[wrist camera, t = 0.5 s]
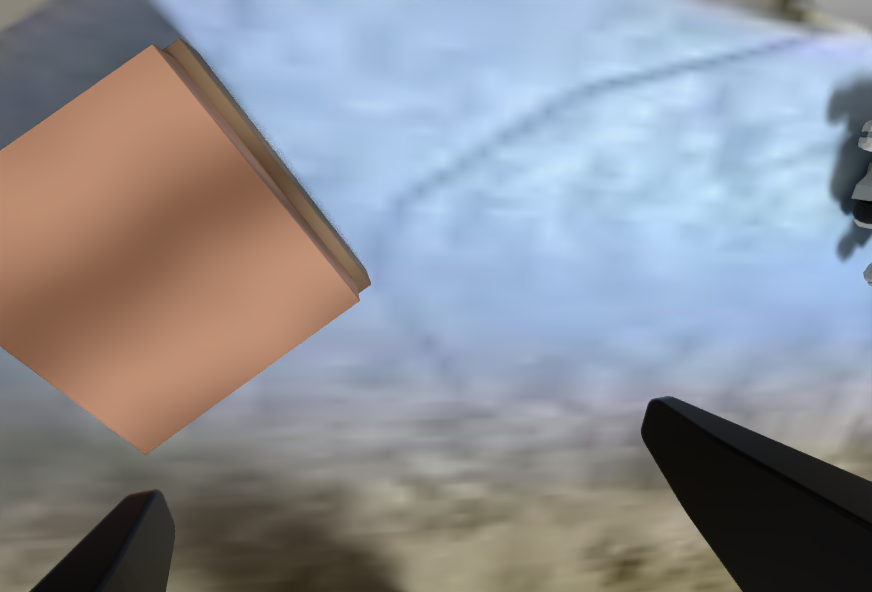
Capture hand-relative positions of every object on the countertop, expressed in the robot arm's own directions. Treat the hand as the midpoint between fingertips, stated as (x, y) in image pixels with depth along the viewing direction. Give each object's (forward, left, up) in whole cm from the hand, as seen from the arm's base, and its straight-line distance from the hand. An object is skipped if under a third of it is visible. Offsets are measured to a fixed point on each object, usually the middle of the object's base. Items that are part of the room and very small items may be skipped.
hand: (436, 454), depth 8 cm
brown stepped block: (0, +8, -14) cm, 16 cm away
